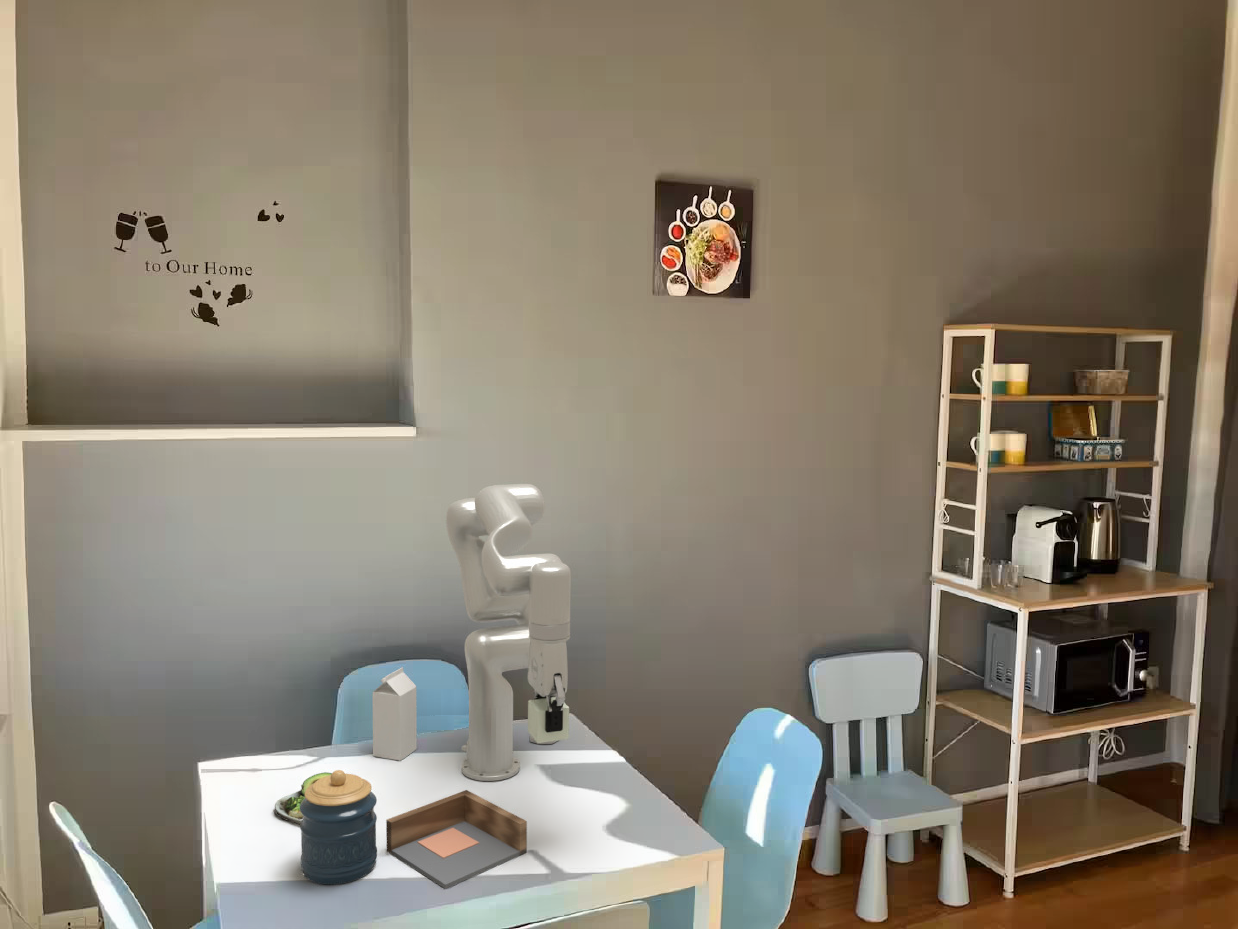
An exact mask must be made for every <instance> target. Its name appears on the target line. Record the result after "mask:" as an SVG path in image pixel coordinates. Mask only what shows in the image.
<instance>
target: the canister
mask: <svg viewBox="0 0 1238 929" xmlns="http://www.w3.org/2000/svg"><path fill="white" fill-rule="evenodd" d="M331 773H332V775H329V776H326V777H323V778H321V779H319V780H317V781H316V782H315V783H313V784H312V785H310V786H309V787H308V788H307V789H306V791H305V799H304V800H303V801H302V802H301V804H300V812H301V813H302V814H303V818H301V819H302V821H301V824H299V825H300V826H299V828H300V836H301V840H300V841H301V856H300V867H301V869H302V870H301V871H302V873H303V876H304V877H305V878H306V879H308V880H309V881H311V882H313V883H317V884H321V885H340V884H346V883H350V882H354V881H356V880H359V879H361V878H364V877H365V876H366V875H368V874H369V873H370V872H372V870H374V868H375V866H376V861H377V858H378V853H377V852H378V848H377V830H376V829H377V818H378V817H377V813H376V812H375V810H374V808H375V806H376V805H377V801H378V800H377V796H376V795H375V794H374V793H373V792H372V784H371V783H370V782H369V781H368V780H366V779H364V778H362V777H361V776H360V775H356V774H354V773H345V771H343V770H341V769H337V770H334V771H333V772H331Z"/></svg>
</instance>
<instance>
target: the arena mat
mask: <svg viewBox="0 0 1238 929" xmlns="http://www.w3.org/2000/svg"><path fill="white" fill-rule="evenodd" d="M526 849H527V850H528V847H527V848H526ZM526 849H524V851H525V850H526ZM390 850H391V849H390ZM527 850H526V852H527ZM522 851H523V850H522ZM526 852H525V853H524V852H522V855H524V854H527V853H528V852H527V853H526ZM387 853H389V851H388V852H387ZM523 853H524V854H523ZM520 854H521V851H518V850H517V849H515V848H513V847H511V846H509V845H507V844H506V843H504V842H502V841H500V840H498V839H497V838H495V837H493V836H491V835H489V834H488V833H486V832H484V831H482V830H480V829H479V828H477V827H475V826H473V825H471V824H469V823H468V822H466V821H463V822H461V823H458V824H456V825H453V826H451V827H448V828H446V829H443V830H441V831H438V832H436V833H433V834H431V835H428V836H426V837H423V838H421V839H418V840H416V841H413V842H411V843H408V844H406V845H403V846H400V847H398V848H395V849H393V850H392V854H391V855H392V856H393V857H395V858H397V859H398V860H400V861H401V862H403V863H405V865H407V866H409V867H410V868H412V869H413V870H415V871H417V872H418V873H419V874H421V875H423V876H424V877H426V878H428V879H429V880H431V881H432V882H434V883H436V884H437V885H439V887H442V888H443V889H445V890H446V889H449V888H451V887H453V886H455V885H458V884H460V883H462V882H464V881H466V880H468V879H469V880H470V879H471V878H473V877H475V876H478V875H481V874H482V873H484V871H485V872H487V871H489V870H491V869H493V868H495V867H498V866H500V865H502V864H504V863H507V862H509V861H510V860H513V859H516V858H517V857H520V856H521V855H520ZM497 865H498V866H497Z"/></svg>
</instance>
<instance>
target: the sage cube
mask: <svg viewBox="0 0 1238 929" xmlns="http://www.w3.org/2000/svg"><path fill="white" fill-rule="evenodd" d="M555 698H556V697H551V704H552V702H553V700H555ZM563 707H564V709H563V730H562V731H556V732H549V733H547V732H546V731H545V711H546V710H547V700H546V698H544V699H536V700H534V699H529V700H528V701H527V733H528V734H529V736H530V735H531V736H532V737H533V738H534V739H535V741H536V742H537V743H543V742H550V741H556V742H558V741H562V740H569V739H570V707H569V706H568V705H567V704H566V703H565V702H564V704H563ZM537 743H536V744H537Z"/></svg>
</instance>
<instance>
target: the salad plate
mask: <svg viewBox="0 0 1238 929" xmlns="http://www.w3.org/2000/svg"><path fill="white" fill-rule="evenodd" d="M332 773H333V772H319V773H316V774H313V775H311V776H309V777H308V778H306V779H305V780H304V781H303V782H302V783H301V785H300V786H301V789H300V790H297V791H296V792H293V793H291V794H288V795H286V796H284V797H282V798H280V799H279V800H277V801H275V805H274V812H275V814H276V815H277V816H278V817H280V818H281V819H283V820H284V821H285V820H286V821H289V822H292V823H295V824H298V825H300V824H301V821H302V820H301V819H303V814H302V813H301V812H300V804H301V802H302V801H303V800H304V799H305V791H306V789H307V788H308V787H309V786H310V785H312V784H313V783H315V782H316V781H317V780H319V779H321V778H323V777H326V776H329V775H332Z"/></svg>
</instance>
